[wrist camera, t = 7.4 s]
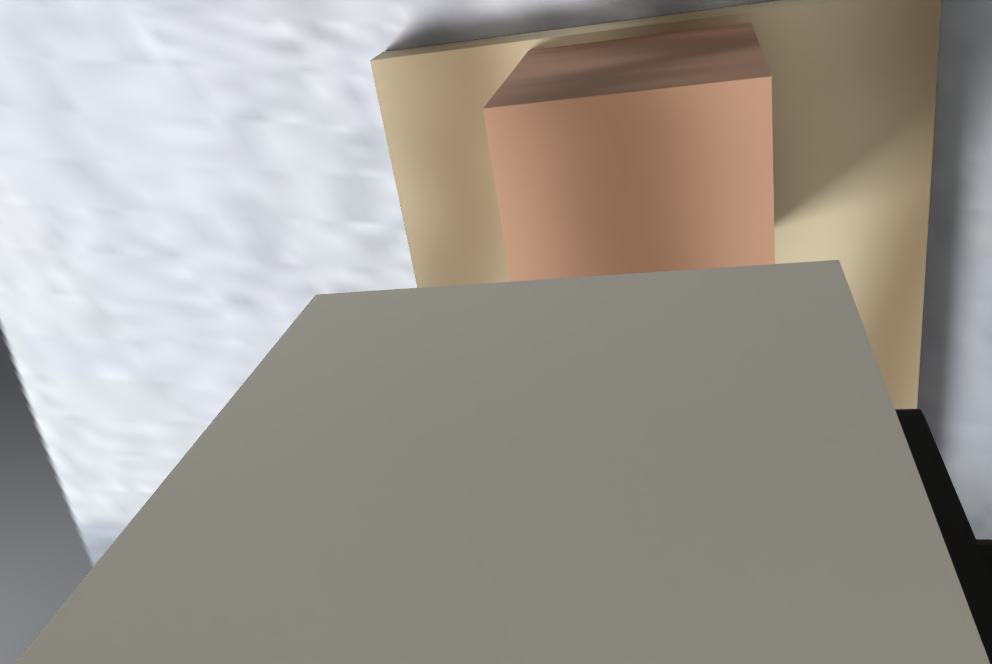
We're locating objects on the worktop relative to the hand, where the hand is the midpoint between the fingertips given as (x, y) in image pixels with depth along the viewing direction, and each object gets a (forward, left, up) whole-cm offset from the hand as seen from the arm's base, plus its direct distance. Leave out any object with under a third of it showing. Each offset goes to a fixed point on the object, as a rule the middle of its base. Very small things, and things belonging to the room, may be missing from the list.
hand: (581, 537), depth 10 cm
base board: (0, +9, -17) cm, 19 cm away
